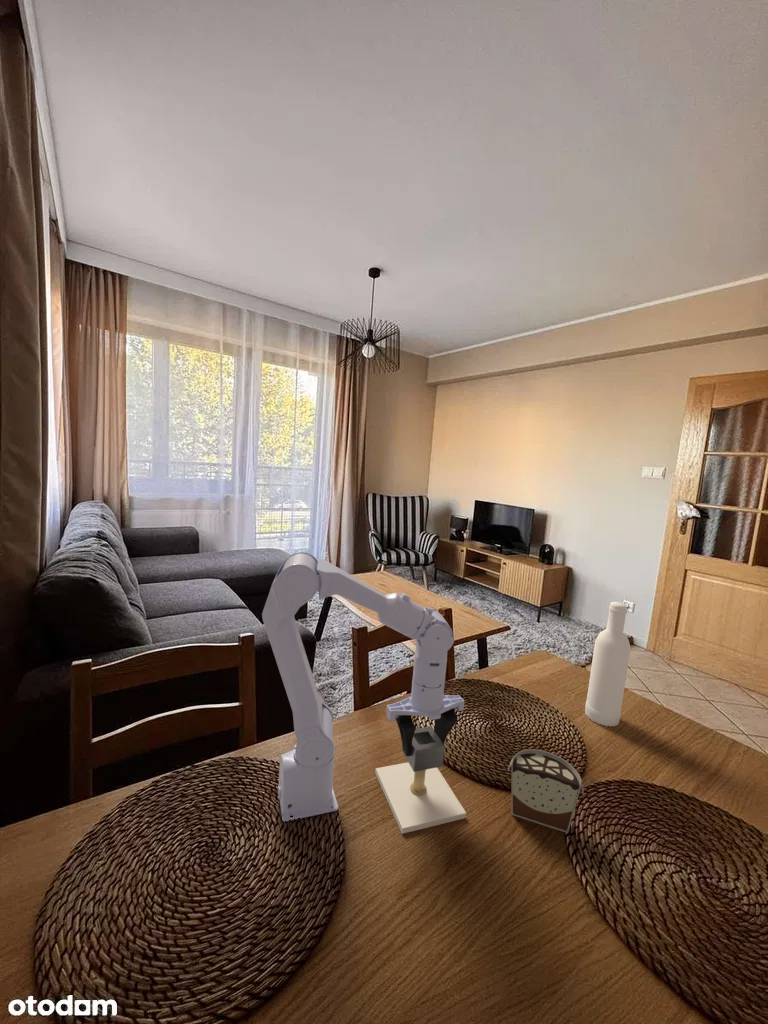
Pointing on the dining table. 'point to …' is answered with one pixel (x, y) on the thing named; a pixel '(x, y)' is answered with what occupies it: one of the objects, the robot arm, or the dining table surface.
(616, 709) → the bottle
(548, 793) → the food container
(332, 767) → the robot arm
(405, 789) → the shaft board
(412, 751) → the collar
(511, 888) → the dining table surface
